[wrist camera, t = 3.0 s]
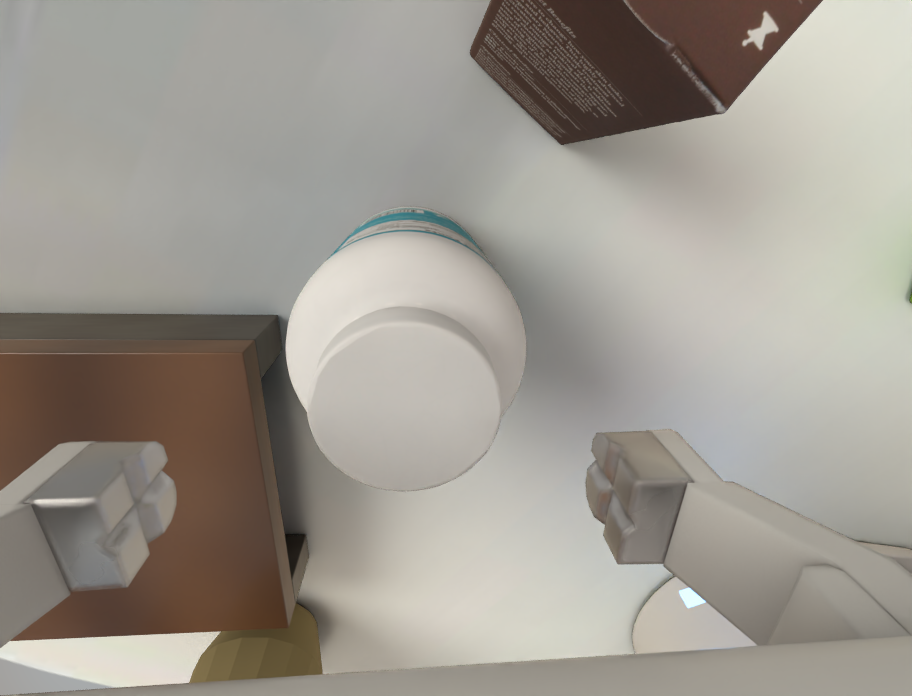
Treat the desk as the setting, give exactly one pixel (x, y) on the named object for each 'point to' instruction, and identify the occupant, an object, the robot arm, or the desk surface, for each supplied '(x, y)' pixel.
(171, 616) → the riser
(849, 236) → the desk surface
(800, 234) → the desk surface
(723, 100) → the box
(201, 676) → the squeeze bottle
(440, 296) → the pill bottle
